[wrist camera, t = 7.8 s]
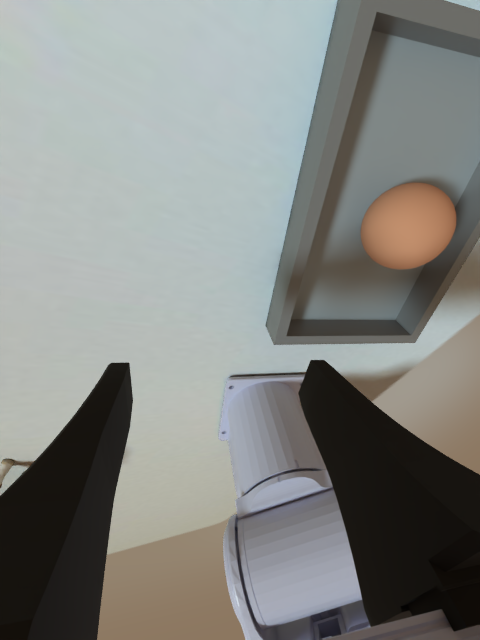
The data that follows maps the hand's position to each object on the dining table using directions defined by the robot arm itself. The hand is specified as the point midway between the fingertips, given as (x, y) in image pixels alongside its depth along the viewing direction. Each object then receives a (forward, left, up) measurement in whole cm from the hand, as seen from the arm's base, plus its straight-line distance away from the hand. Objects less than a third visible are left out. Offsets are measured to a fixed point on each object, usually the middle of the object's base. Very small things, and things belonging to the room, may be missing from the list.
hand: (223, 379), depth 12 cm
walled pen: (+5, -12, -10) cm, 16 cm away
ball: (+5, -12, -8) cm, 15 cm away
